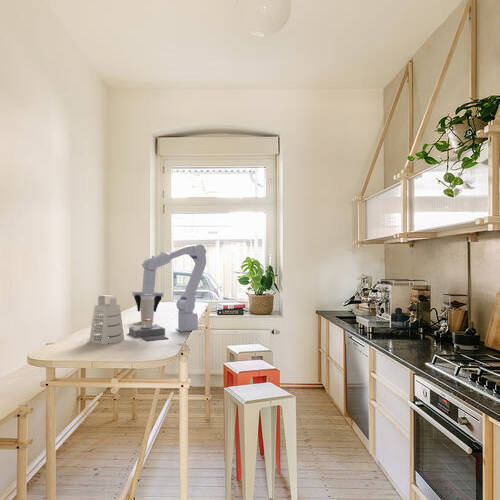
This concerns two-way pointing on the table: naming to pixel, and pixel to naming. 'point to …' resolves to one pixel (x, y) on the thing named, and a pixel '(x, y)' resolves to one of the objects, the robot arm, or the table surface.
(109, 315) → the grater
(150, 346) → the table surface
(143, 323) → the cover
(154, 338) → the mat
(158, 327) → the housing
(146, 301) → the coffee cup
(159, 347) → the table surface
